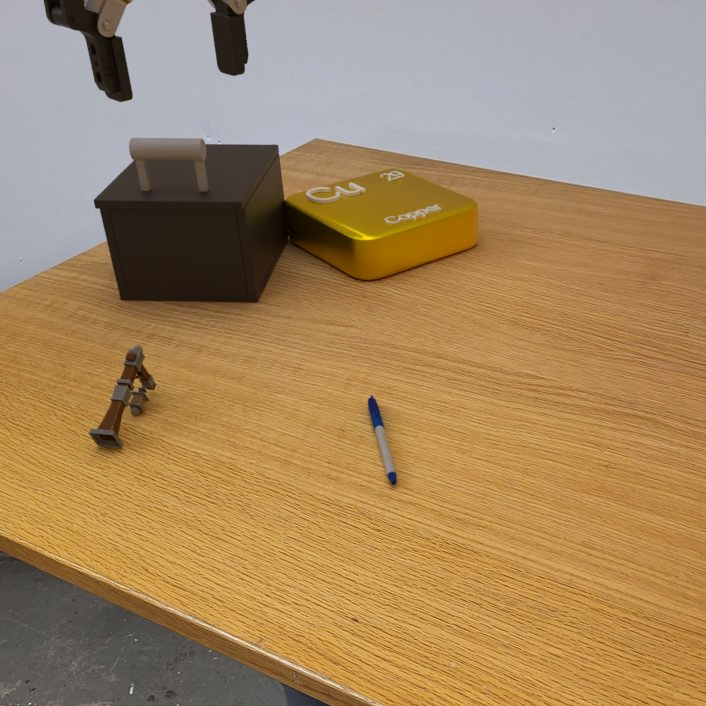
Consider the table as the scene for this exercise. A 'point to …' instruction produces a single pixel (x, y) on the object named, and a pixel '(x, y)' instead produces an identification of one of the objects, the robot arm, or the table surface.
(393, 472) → the ballpoint pen
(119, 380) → the brown grey angular piece
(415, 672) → the table surface
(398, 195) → the element tile
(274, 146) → the box lid
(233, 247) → the open black box
